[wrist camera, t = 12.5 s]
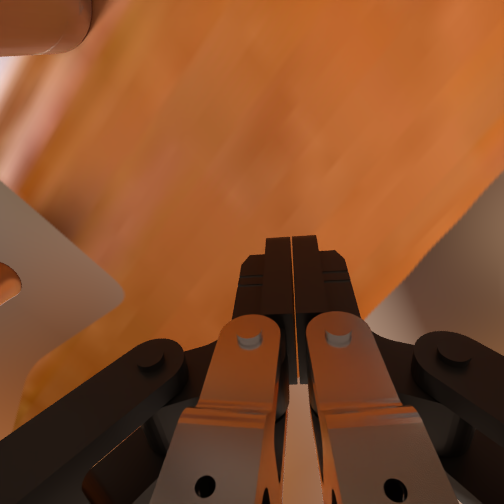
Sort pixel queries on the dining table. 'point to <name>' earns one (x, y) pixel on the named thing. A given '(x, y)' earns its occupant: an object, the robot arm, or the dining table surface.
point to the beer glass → (8, 283)
